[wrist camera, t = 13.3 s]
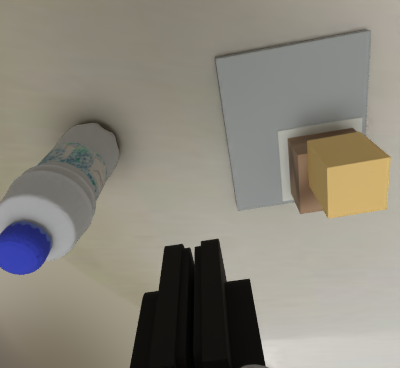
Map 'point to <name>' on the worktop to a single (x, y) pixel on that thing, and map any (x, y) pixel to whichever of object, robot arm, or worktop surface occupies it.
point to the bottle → (55, 199)
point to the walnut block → (305, 170)
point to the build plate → (288, 106)
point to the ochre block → (348, 174)
